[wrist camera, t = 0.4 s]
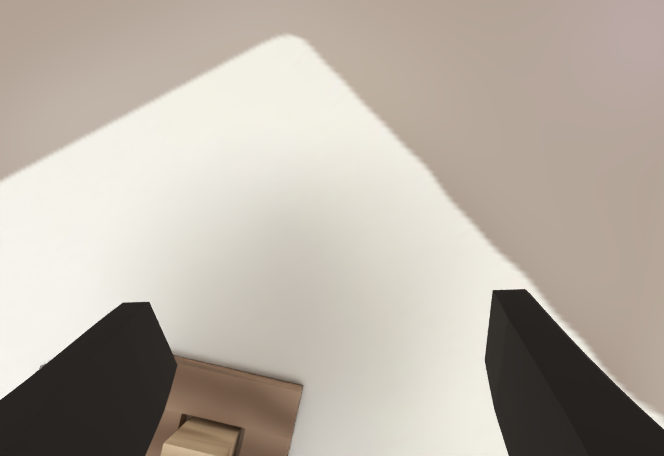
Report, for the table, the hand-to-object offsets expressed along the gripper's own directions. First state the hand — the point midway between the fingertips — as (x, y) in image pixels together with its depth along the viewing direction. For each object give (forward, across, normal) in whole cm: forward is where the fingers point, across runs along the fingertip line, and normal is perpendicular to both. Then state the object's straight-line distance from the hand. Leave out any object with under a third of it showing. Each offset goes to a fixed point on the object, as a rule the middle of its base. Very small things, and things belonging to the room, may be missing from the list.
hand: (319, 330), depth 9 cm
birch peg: (+12, +13, +25) cm, 31 cm away
